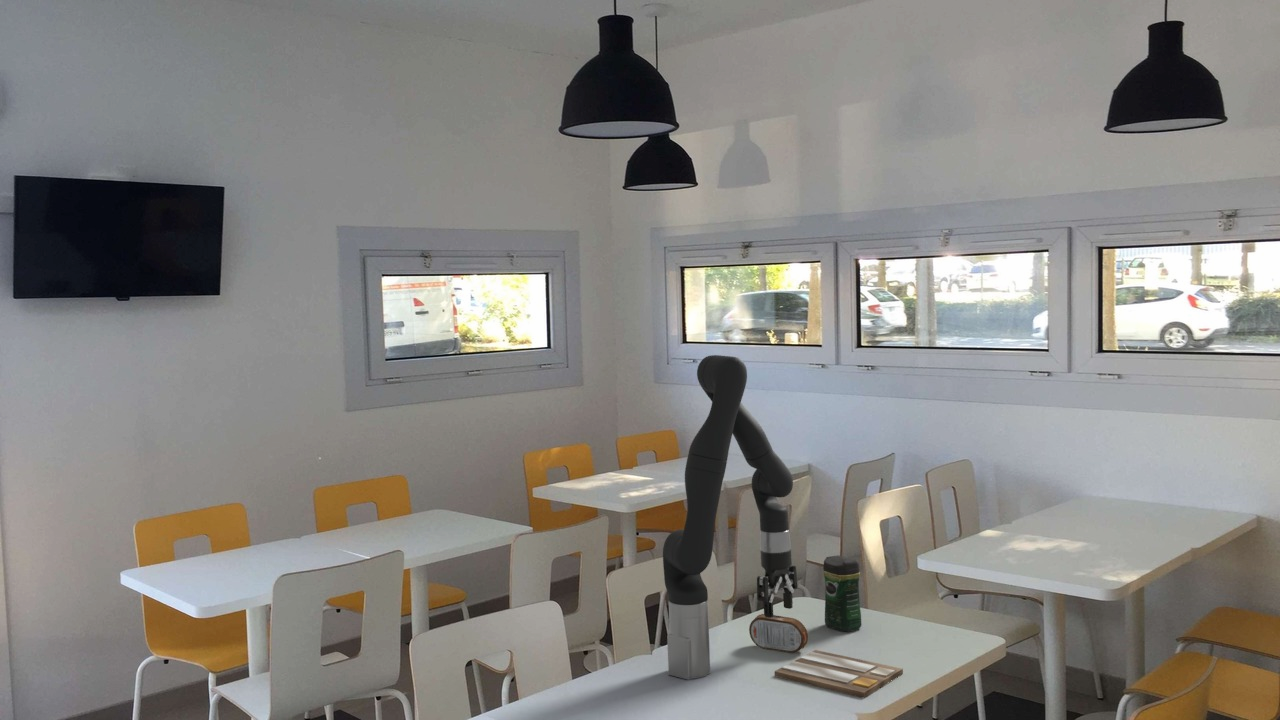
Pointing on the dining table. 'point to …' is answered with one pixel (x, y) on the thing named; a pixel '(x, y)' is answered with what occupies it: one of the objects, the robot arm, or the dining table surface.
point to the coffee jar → (842, 593)
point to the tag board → (839, 673)
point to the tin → (778, 633)
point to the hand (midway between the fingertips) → (778, 612)
